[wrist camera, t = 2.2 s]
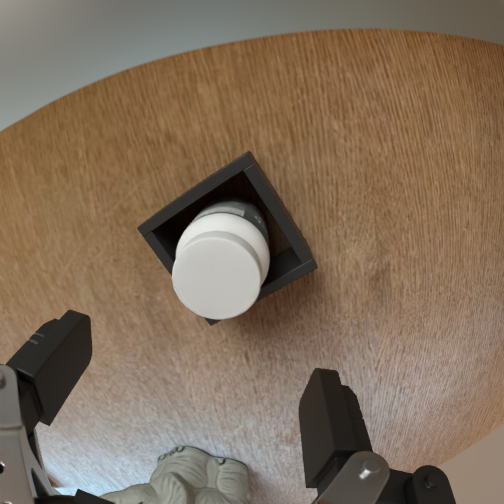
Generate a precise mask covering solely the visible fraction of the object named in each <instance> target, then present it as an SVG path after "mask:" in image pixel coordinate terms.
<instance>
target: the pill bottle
mask: <svg viewBox="0 0 504 504" xmlns="http://www.w3.org/2000/svg"><path fill="white" fill-rule="evenodd" d="M269 264H270V252H269V236H268V226H267V221H266V219H265V216H264V214H263V213H262V211H261V210H260V209H259V208H258V206H256V205H255V204H254V203H253V202H251V201H250V200H248V199H246V198H243V197H240V196H232V195H230V196H223V197H219V198H217V199H214V200H213V201H211V202H210V203H208V204H207V205H206V206H205V207H204V208H203V209H202V210H201V212H200V213H199V214H198V215H197V216H196V218H195V219H194V220H193V221H192V222H191V223H190V225H189V226H188V227H187V228H186V230H185V231H184V233H183V234H182V236H181V238H180V240H179V242H178V245H177V249H176V260H175V262H174V266H173V270H172V281H173V286H174V289H175V291H176V294H177V296H178V297H179V299H180V300H181V302H182V303H183V304H184V305H185V306H186V307H187V308H189V309H190V310H191V311H193V312H194V313H196V314H198V315H200V316H202V317H205V318H209V319H215V320H216V319H217V320H223V319H230V318H233V317H236V316H238V315H241V314H242V313H244V312H245V311H247V310H248V309H249V308H250V307H251V306H252V305H253V304H254V302H255V301H256V299H257V297H258V295H259V292H260V289H261V285H262V284H263V282H264V280H265V278H266V276H267V273H268V269H269Z"/></svg>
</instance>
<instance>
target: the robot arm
mask: <svg viewBox="0 0 504 504" xmlns="http://www.w3.org/2000/svg"><path fill="white" fill-rule="evenodd" d="M91 357H92V337H91V321H90V317H89V316H88V315H85V314H82V313H79V312H76V311H73V310H68V311H67V312H66V313H65V314H64V315H63V316H62V317H61V318H60V319H59V320H57V319H53V320H51V321H49V322H47V323H45V324H43V325H42V326H41V327H40V328H39V329H38V330H37V331H36V332H35V334H33V335H32V336H31V337H30V338H29V341H27V342H26V343H25V344H24V345H23V346H22V347H21V348H20V349H19V350H18V351H17V352H16V353H15V354H14V356H13V357H12V358H11V359H10V360H9V361H8V362H7V363H6V364H5V365H4V364H0V504H115V503H114V502H111V501H108V500H106V499H103V498H100V497H97V496H95V495H92V494H90V493H87V492H85V491H82V490H80V489H78V490H77V492H76V494H75V496H70V495H54V492H53V489H52V487H51V485H50V482H49V480H48V477H47V475H46V471H45V468H44V464H43V460H42V456H41V451H40V447H39V443H38V438H37V433H36V429H35V427H36V425H37V423H38V422H39V421H40V422H42V423H44V424H46V425H48V426H50V425H51V423H52V421H53V420H54V418H55V416H56V415H57V413H58V412H59V410H60V408H61V407H62V405H63V404H64V402H65V400H66V399H67V397H68V396H69V394H70V392H71V391H72V389H73V388H74V386H75V385H76V383H77V382H78V380H79V379H80V377H81V375H82V374H83V372H84V371H85V369H86V368H87V366H88V365H89V363H90V360H91ZM362 417H363V416H362V412H361V410H360V406H359V403H358V399H357V396H356V395H355V394H354V393H353V391H352V390H351V389H350V388H349V386H345V385H341V381H340V377H339V374H338V372H337V371H336V370H329V369H321V368H315V369H314V371H313V373H312V375H311V377H310V380H309V382H308V384H307V386H306V388H305V391H304V393H303V395H302V397H301V400H300V404H299V422H300V432H301V441H302V451H303V462H304V472H305V483H306V488H317V492H318V496H317V497H316V498H315V499H314V500H313V502H312V503H311V504H456V502H455V499H454V496H453V493H452V490H451V487H450V484H449V481H448V478H447V476H446V475H445V474H444V472H443V471H442V470H440V469H439V468H437V467H435V466H431V465H425V466H421V467H420V468H418V469H417V470H416V471H415V472H414V473H413V474H412V473H407V472H402V471H398V470H394V469H390V468H389V465H388V463H387V462H386V460H385V459H384V458H383V457H381V456H380V455H378V454H376V453H374V452H373V450H372V446H371V443H370V439H369V436H368V432H367V429H366V426H365V422H364V419H362Z"/></svg>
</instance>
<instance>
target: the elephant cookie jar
mask: <svg viewBox="0 0 504 504" xmlns="http://www.w3.org/2000/svg"><path fill="white" fill-rule="evenodd" d="M99 497H100V498H103V499H106V500H108V501H111V502H114V503H115V504H252V495H251V492H250V488H249V481H248V469H247V468H246V466H244V465H243V464H241V463H240V462H237V461H234V460H231V459H225V458H215V457H211V456H209V455H208V454H206V453H204V452H202V451H200V450H198V449H196V448H191V447H186V446H179V447H176V448H174V449H173V450H171V451H170V452H169V453H166V454H162V455H161V456H159V457H158V463H157V468H156V469H155V471H154V472H153V473H152V475H151V478H150V482H149V483H144V484H136V485H132V486H129V487H128V488H126V489H124V490H120V491H115V492H110V493H106V494H103V495H101V496H99Z"/></svg>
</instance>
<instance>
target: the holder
mask: <svg viewBox="0 0 504 504" xmlns="http://www.w3.org/2000/svg"><path fill="white" fill-rule="evenodd" d="M241 171H244V173H245V174H246V176H247V177H248V179H249V180H250V182H251V183H252V185H253V186H254V188H255V190H256V191H257V193H258V194H259V196H260V197H261V199H262V200H263V202H264V204H265V205H266V207H267V208H268V210H269V211H270V213H271V215H272V216H273V218H274V219H275V221H276V223H277V224H278V226H279V227H280V229H281V231H282V232H283V234H284V235H285V237H286V239H287V240H288V242H289V243H290V245H291V247H289V248H288V249H286V250H284V251H283V252H281V253H279V254H277V255H276V256H274V257H272V258H270V264H269V269H268V273H267V276H266V278H265V280H264V282H263V284H262V285H261V289H260V292H259V295H258V297H257V299H256V301H255V302H257V301H258V300H260V299H262V298H264V297H266V296H268V295H269V294H271V293H273V292H275V291H277V290H279V289H280V288H282V287H284V286H286V285H288V284H289V283H291V282H293V281H295V280H297V279H298V278H300V277H302V276H304V275H306V274H307V273H309V272H311V271H313V270H314V269H316V268H317V264H316V262H315V259H314V257H313V255H312V252H311V250H310V247H309V245H308V244H307V242H306V240H305V239H304V237H303V235H302V234H301V232H300V230H299V229H298V227H297V225H296V224H295V222H294V220H293V219H292V217H291V215H290V214H289V212H288V211H287V209H286V207H285V206H284V204H283V202H282V201H281V199H280V198H279V196H278V194H277V193H276V191H275V190H274V188H273V186H272V185H271V183H270V182H269V180H268V179H267V177H266V175H265V174H264V172H263V171H262V169H261V168H260V166H259V164H258V163H257V161H256V160H255V158H254V157H253V155H252V154H251V152H250V151H248V152H246V153H245V154H243V155H241V156H240V157H238V158H237V159H235V160H234V161H232V162H230V163H229V164H227V165H226V166H224V167H223V168H221V169H220V170H218V171H217V172H215V173H213V174H212V175H210V176H209V177H207V178H206V179H204V180H203V181H201V182H200V183H198V184H197V185H195V186H194V187H193V188H191V189H190V190H188V191H187V192H185V193H184V194H182V195H181V196H179V197H178V198H177V199H175V200H174V201H172V202H171V203H169V204H168V205H167V206H165V207H164V208H162V209H161V210H160V211H158V212H157V213H155V214H154V215H153V216H152V217H150V218H149V219H148V220H146V221H145V222H144V223H143V224H141V225H140V226H139V227H138V228H137V229H138V230H139V232H140V233H141V234H142V236H143V237H144V239H145V240H146V241H147V243H148V244H149V245H150V247H151V248H152V250H153V251H154V252H155V254H156V255H157V257H158V258H159V259H160V261H161V262H162V263H163V265H164V266H165V267H166V269H167V270H168V271H169V273H170V274H171V275H172V270H173V266H174V262H175V260H176V249H177V245H178V242H179V240H180V238H181V236H182V234H181V232H180V231H179V230H178V228H177V227H176V225H175V224H174V222H173V221H172V220H171V217H173V216H174V215H176V214H177V213H179V212H180V211H182V210H183V209H185V208H186V207H188V206H189V205H191V204H192V203H194V202H195V201H197V200H198V199H200V198H201V197H203V196H204V195H206V194H207V193H209V192H210V191H212V190H213V189H215V188H216V187H218V186H219V185H221V184H222V183H224V182H225V181H227V180H229V179H230V178H232V177H233V176H235V175H236V174H238V173H240V172H241ZM255 302H254V303H255ZM204 318H205V317H204ZM205 319H206V320H207V322H208V323H209V324H210V325H213V324H215V323H217V322H219V321H221V320H217V319H216V320H215V319H209V318H205Z"/></svg>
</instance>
